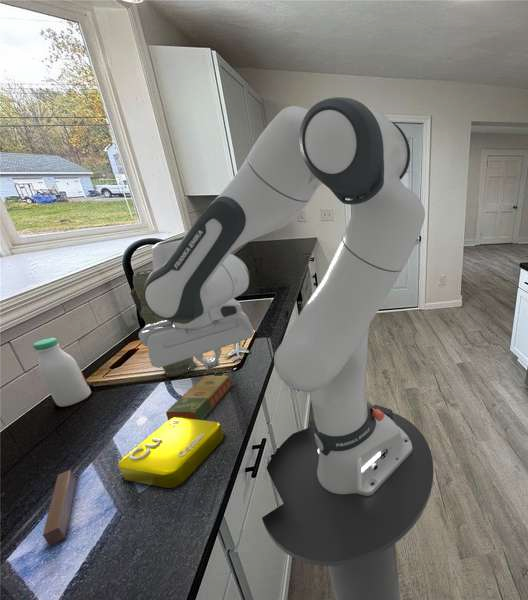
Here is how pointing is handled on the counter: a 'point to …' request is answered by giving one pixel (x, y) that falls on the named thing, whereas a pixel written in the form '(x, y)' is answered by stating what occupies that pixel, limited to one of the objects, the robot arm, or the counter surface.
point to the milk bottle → (60, 373)
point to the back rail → (60, 508)
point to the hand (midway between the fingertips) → (212, 366)
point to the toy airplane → (237, 351)
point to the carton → (200, 398)
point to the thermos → (151, 318)
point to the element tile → (171, 452)
